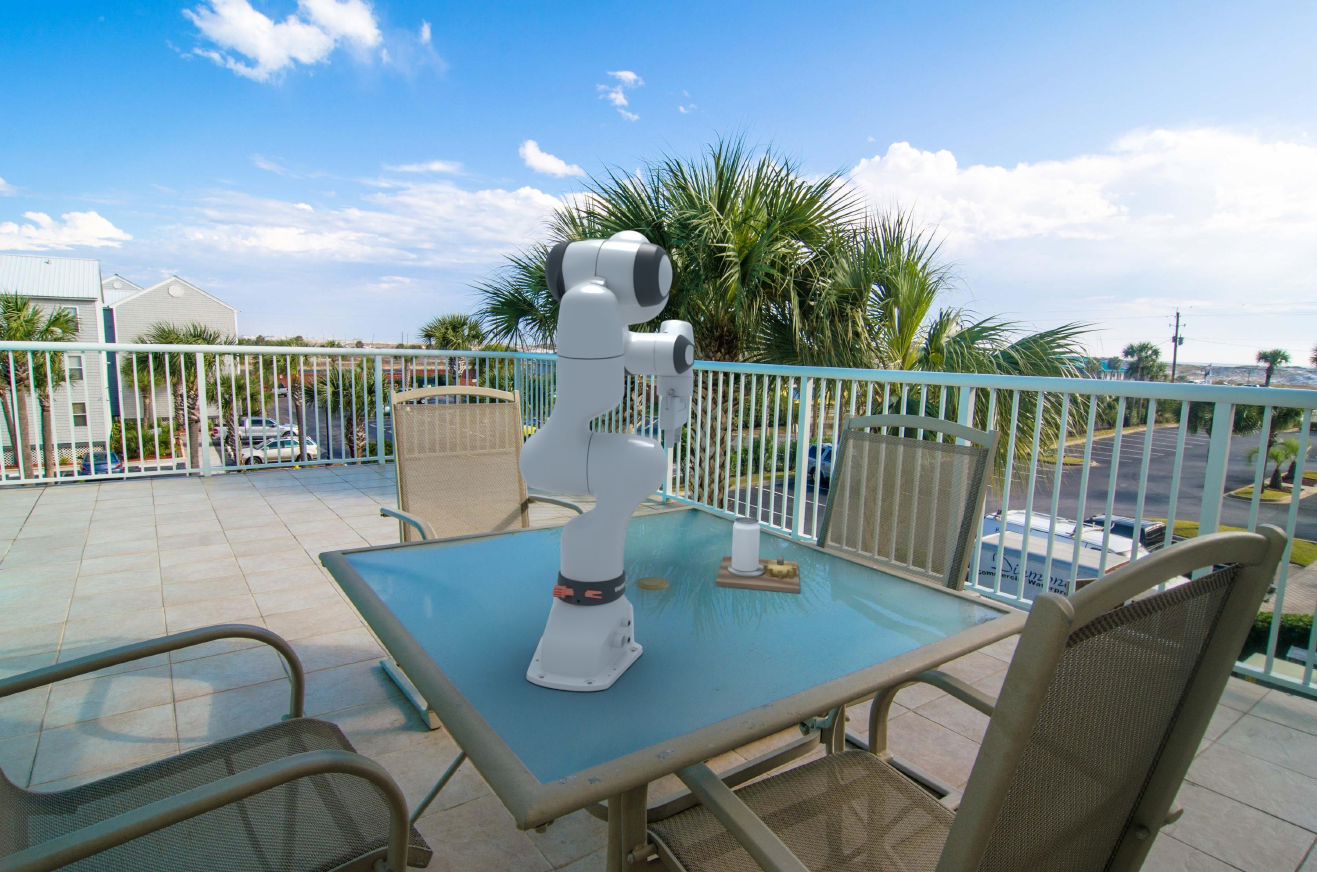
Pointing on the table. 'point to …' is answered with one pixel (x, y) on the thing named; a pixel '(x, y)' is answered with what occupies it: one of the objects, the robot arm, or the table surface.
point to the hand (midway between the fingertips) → (673, 445)
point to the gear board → (761, 576)
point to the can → (745, 544)
